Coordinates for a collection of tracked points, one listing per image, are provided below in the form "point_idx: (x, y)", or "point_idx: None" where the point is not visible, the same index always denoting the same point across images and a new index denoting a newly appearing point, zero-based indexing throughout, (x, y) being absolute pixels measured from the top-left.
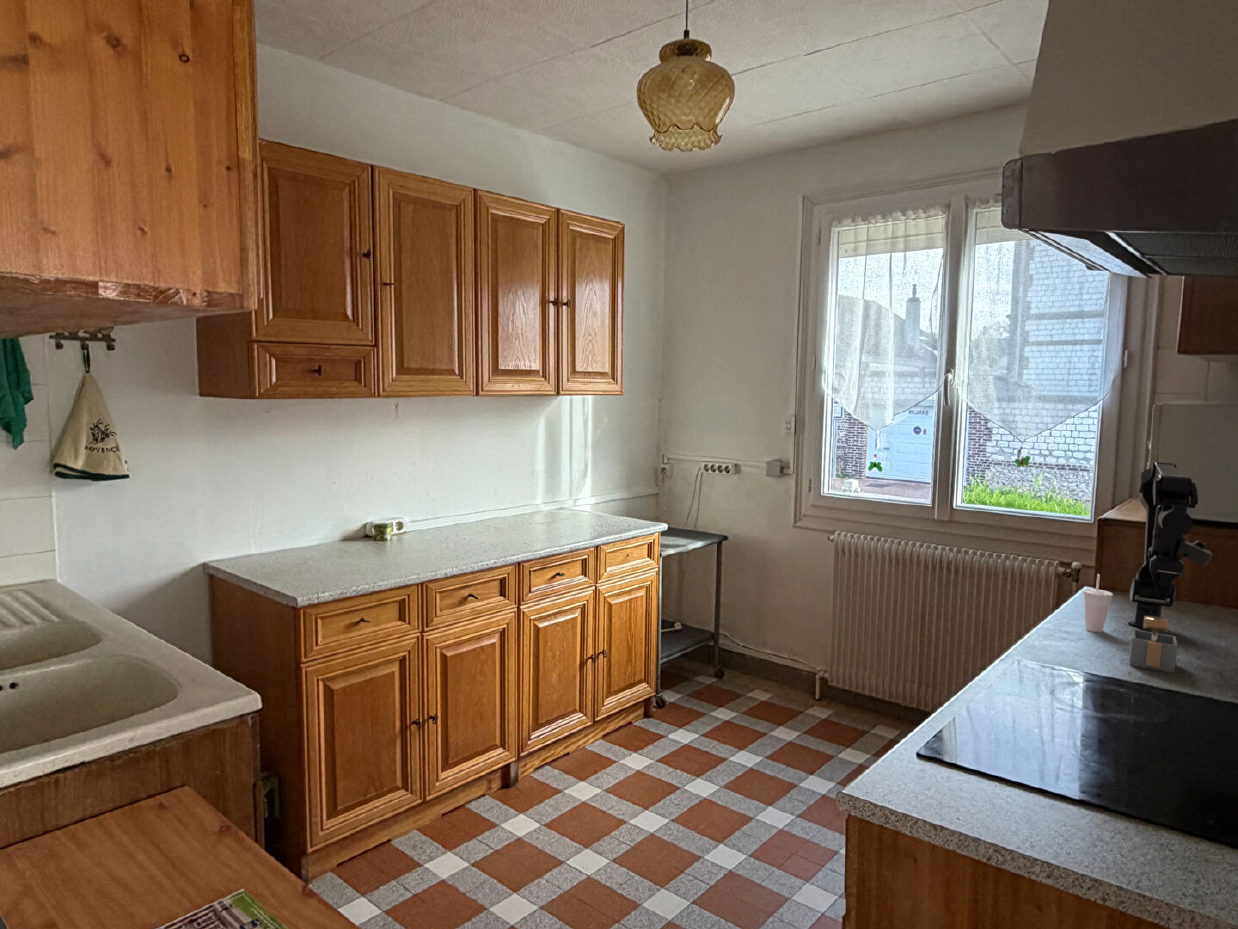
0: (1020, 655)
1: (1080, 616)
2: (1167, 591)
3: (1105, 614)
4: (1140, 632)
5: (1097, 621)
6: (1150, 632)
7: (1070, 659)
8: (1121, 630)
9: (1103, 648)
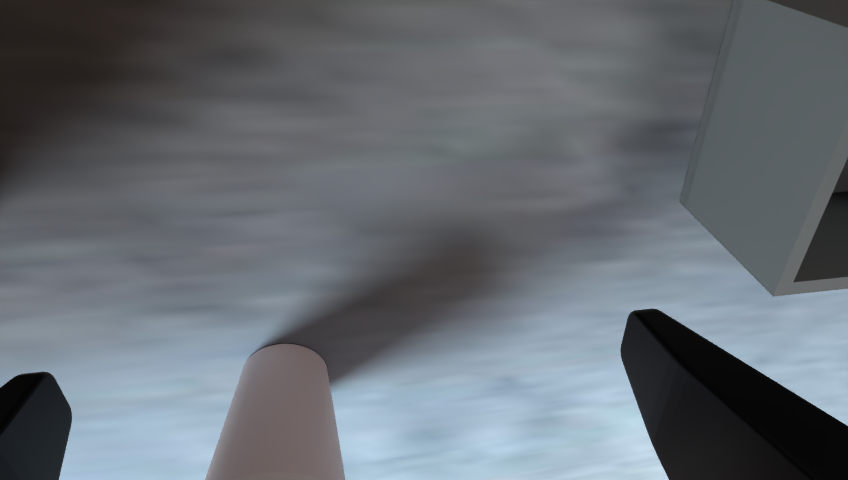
0: None
1: None
2: (773, 388)
3: (305, 427)
4: (799, 249)
5: (332, 411)
6: (822, 203)
7: (841, 362)
8: (149, 280)
9: (616, 301)
